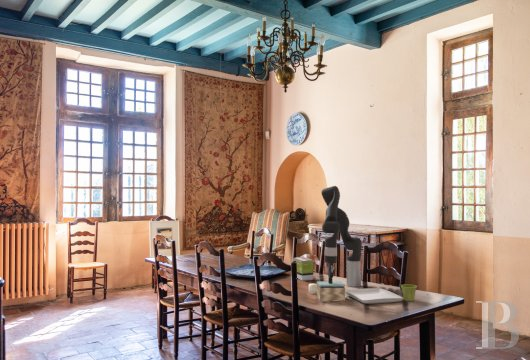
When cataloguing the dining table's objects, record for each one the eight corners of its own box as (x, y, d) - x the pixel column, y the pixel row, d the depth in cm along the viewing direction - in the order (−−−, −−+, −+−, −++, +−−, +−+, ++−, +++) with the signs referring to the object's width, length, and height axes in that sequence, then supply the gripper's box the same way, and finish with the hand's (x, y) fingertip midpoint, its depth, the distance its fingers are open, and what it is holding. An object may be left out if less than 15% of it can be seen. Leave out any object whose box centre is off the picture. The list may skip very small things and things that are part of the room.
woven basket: (340, 296, 289) (340, 283, 289) (345, 301, 276) (345, 287, 276) (316, 296, 288) (316, 283, 288) (319, 301, 275) (319, 287, 275)
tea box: (292, 277, 350) (292, 257, 350) (303, 276, 354) (303, 256, 355) (301, 280, 337) (302, 260, 337) (313, 279, 341) (314, 259, 341)
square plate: (362, 306, 266) (362, 299, 266) (342, 295, 292) (342, 289, 292) (404, 303, 273) (404, 296, 273) (380, 293, 299) (380, 287, 300)
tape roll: (316, 292, 300) (316, 283, 301) (318, 294, 295) (318, 285, 295) (308, 292, 300) (308, 283, 300) (309, 294, 295) (309, 285, 295)
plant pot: (405, 297, 286) (405, 283, 286) (419, 300, 279) (419, 285, 279) (397, 300, 280) (397, 285, 280) (411, 303, 273) (411, 288, 273)
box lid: (340, 283, 289) (340, 281, 289) (345, 286, 276) (345, 284, 276) (316, 283, 288) (316, 281, 288) (319, 286, 275) (319, 284, 275)
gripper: (338, 256, 274) (338, 285, 274) (334, 253, 287) (334, 281, 287) (326, 256, 274) (325, 285, 274) (322, 253, 287) (322, 281, 287)
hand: (330, 283), depth 280 cm, fingers closed
